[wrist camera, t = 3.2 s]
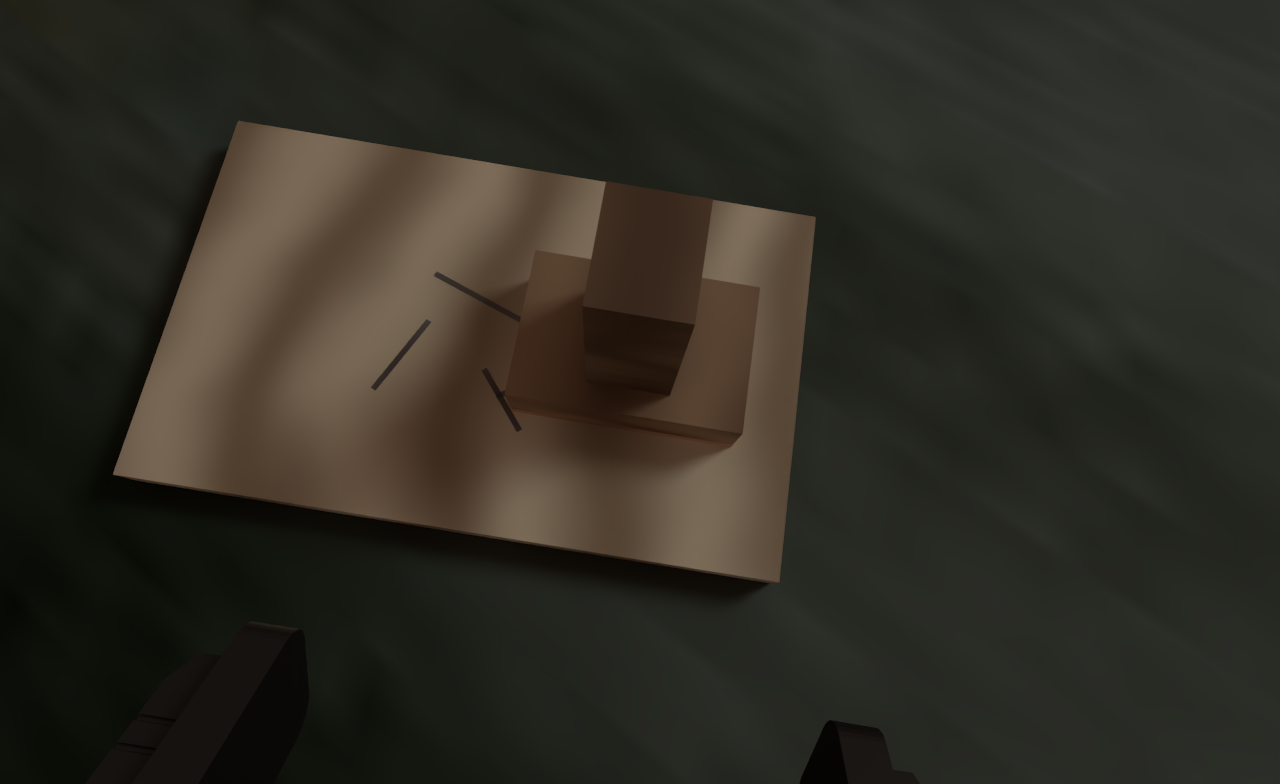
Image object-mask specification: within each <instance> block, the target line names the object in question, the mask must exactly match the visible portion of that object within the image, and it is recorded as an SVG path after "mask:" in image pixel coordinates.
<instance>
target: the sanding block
mask: <svg viewBox="0 0 1280 784" xmlns="http://www.w3.org/2000/svg"><path fill="white" fill-rule="evenodd" d="M712 204H713V199H709V198H703V197H697V196H691V195H685V194H679V193H673V192H667V191H661V190H655V189H649V188H643V187H637V186H631V185H625V184H619V183H613V182H607V181H606V184H605V189H604V194H603V200H602V205H601V210H600V215H599V221H598V226H597V231H596V236H595V242H594V247H593V252H592V257H591V259H587V258H581V257H575V256H569V255H563V254H557V253H551V252H545V251H539V250H535V254H534V259H533V263H532V268H531V273H530V277H529V282H528V287H527V292H526V296H525V301H524V306H523V310H522V315H521V320H520V324H519V329H518V334H517V338H516V343H515V348H514V352H513V357H512V362H511V366H510V371H509V376H508V380H507V385H506V390H505V394H504V395H505V397H506V399H507V401H508V404H509V406H510V408H511V410H512V411H515V412H521V413H527V414H533V415H539V416H545V417H551V418H557V419H564V420H570V421H576V422H582V423H588V424H594V425H600V426H606V427H612V428H618V429H624V430H631V431H637V432H643V433H649V434H655V435H661V436H667V437H673V438H679V439H685V440H691V441H698V442H704V443H710V444H716V445H722V446H728V447H732V445H733V444H734V443H735V442H736V441H737V440H738V439H739V437H740V436H741V435H742V434H743V427H744V419H745V411H746V402H747V394H748V385H749V377H750V369H751V360H752V352H753V344H754V335H755V327H756V319H757V310H758V302H759V293H760V287H755V286H749V285H743V284H737V283H731V282H725V281H719V280H713V279H707V278H702V273H703V267H704V260H705V253H706V246H707V239H708V232H709V225H710V218H711V211H712Z"/></svg>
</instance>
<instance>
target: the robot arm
mask: <svg viewBox="0 0 1280 784" xmlns="http://www.w3.org/2000/svg"><path fill="white" fill-rule="evenodd" d="M308 702H309V687H308V674H307V661H306V648H305V637H304V633H303V631H302V630H301V629H296V628H290V627H284V626H278V625H272V624H266V623H260V622H254V621H250V622H248V623H247V624H245V625H244V626H243V627H242V628H241V629H240V630H239V632H238V633H237V634H236V636H235V637H234V639H233V640H232V642H231V643H230V644H229V646H228V647H227V649H226V650H225V652H224V653H223V654H222V656H219V655H213V654H207V653H200V654H198V655H197V656H195V657H194V658H193V659H191V660H190V661H189V662H187V663H186V664H185V665H183V666H182V667H181V668H179V669H178V670H176V671H175V672H174V673H172V674H171V675H170V676H168V677H167V678H166V679H164V681H163V682H162V683H161V685H160V686H159V687H158V689H157V690H156V691H155V692H154V694H153V695H152V696H151V698H150V699H149V700H148V702H147V703H146V704H145V706H144V707H143V708H142V710H141V711H140V712H139V715H138V718H137V720H136V721H135V720H133V721H132V723H131V724H130V725H129V727H128V728H127V729H126V731H125V732H124V733H123V735H122V736H121V737H120V739H119V740H118V741H117V745H116V747H115V749H111V750H110V752H109V753H108V754H107V756H106V757H105V758H104V760H103V761H102V762H101V764H100V765H99V766H98V768H97V769H96V770H95V772H94V773H93V774H92V776H91V777H90V778H89V779H88V781H87V782H86V783H85V784H274V782H275V780H276V778H277V776H278V774H279V772H280V770H281V768H282V766H283V765H284V763H285V761H286V759H287V757H288V755H289V753H290V751H291V749H292V747H293V745H294V744H295V742H296V740H297V738H298V735H299V733H300V731H301V728H302V726H303V723H304V719H305V716H306V712H307V708H308ZM800 784H919V782H918V781H917V779H916V777H915V776H914V774H913V773H909V772H903V771H896V770H893V769H892V765H891V761H890V757H889V753H888V749H887V745H886V742H885V738H884V736H883V734H882V732H881V731H880V730H879V729H877V728H873V727H868V726H862V725H856V724H850V723H844V722H838V721H832V720H830V721H828V722H827V723H826V724H825V726H824V728H823V730H822V732H821V735H820V737H819V739H818V741H817V743H816V746H815V748H814V750H813V752H812V755H811V757H810V759H809V761H808V764H807V766H806V768H805V770H804V773H803V775H802V777H801V780H800Z"/></svg>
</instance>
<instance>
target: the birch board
mask: <svg viewBox="0 0 1280 784" xmlns="http://www.w3.org/2000/svg"><path fill="white" fill-rule="evenodd" d="M605 184H606V182H602V181H596V180H590V179H584V178H578V177H572V176H566V175H560V174H554V173H548V172H542V171H536V170H530V169H524V168H518V167H512V166H506V165H500V164H494V163H488V162H482V161H476V160H470V159H464V158H458V157H452V156H446V155H440V154H434V153H428V152H422V151H416V150H410V149H404V148H398V147H392V146H386V145H380V144H374V143H368V142H362V141H356V140H350V139H344V138H338V137H332V136H326V135H320V134H314V133H308V132H302V131H296V130H290V129H284V128H278V127H272V126H266V125H260V124H254V123H248V122H242V121H238V123H237V126H236V129H235V132H234V134H233V137H232V140H231V143H230V146H229V148H228V151H227V154H226V157H225V160H224V163H223V165H222V168H221V171H220V174H219V177H218V179H217V182H216V185H215V188H214V191H213V194H212V196H211V199H210V202H209V205H208V208H207V210H206V213H205V216H204V219H203V222H202V224H201V227H200V230H199V233H198V236H197V239H196V241H195V244H194V247H193V250H192V253H191V255H190V258H189V261H188V264H187V267H186V270H185V272H184V275H183V278H182V281H181V284H180V286H179V289H178V292H177V295H176V298H175V301H174V303H173V306H172V309H171V312H170V315H169V317H168V320H167V323H166V326H165V329H164V332H163V334H162V337H161V340H160V343H159V346H158V348H157V351H156V354H155V357H154V360H153V363H152V365H151V368H150V371H149V374H148V377H147V379H146V382H145V385H144V388H143V391H142V394H141V396H140V399H139V402H138V405H137V408H136V410H135V413H134V416H133V419H132V422H131V425H130V427H129V430H128V433H127V436H126V439H125V441H124V444H123V447H122V450H121V453H120V456H119V458H118V461H117V464H116V467H115V470H114V472H113V475H117V476H121V477H125V478H128V479H132V480H136V481H142V482H148V483H155V484H161V485H167V486H173V487H179V488H186V489H192V490H198V491H204V492H210V493H216V494H223V495H229V496H235V497H241V498H247V499H253V500H260V501H266V502H272V503H278V504H284V505H290V506H297V507H303V508H309V509H315V510H321V511H327V512H334V513H340V514H346V515H352V516H358V517H364V518H371V519H377V520H383V521H389V522H395V523H401V524H408V525H414V526H420V527H426V528H432V529H439V530H445V531H451V532H457V533H463V534H469V535H476V536H482V537H488V538H494V539H500V540H506V541H513V542H519V543H525V544H531V545H537V546H543V547H550V548H556V549H562V550H568V551H574V552H580V553H587V554H593V555H599V556H605V557H611V558H617V559H624V560H630V561H636V562H642V563H648V564H655V565H661V566H667V567H673V568H679V569H685V570H692V571H698V572H704V573H710V574H716V575H722V576H729V577H735V578H741V579H747V580H753V581H759V582H766V583H779V580H780V569H781V559H782V549H783V539H784V529H785V519H786V509H787V499H788V489H789V479H790V469H791V459H792V449H793V439H794V429H795V419H796V409H797V399H798V389H799V379H800V369H801V359H802V349H803V339H804V329H805V319H806V309H807V299H808V289H809V279H810V269H811V259H812V249H813V239H814V229H815V219H816V217H812V216H806V215H800V214H794V213H788V212H782V211H776V210H770V209H764V208H758V207H752V206H746V205H740V204H734V203H728V202H722V201H716V200H713V204H712V211H711V218H710V225H709V232H708V239H707V246H706V253H705V260H704V267H703V273H702V278H707V279H713V280H719V281H725V282H731V283H737V284H743V285H749V286H755V287H760V293H759V302H758V310H757V319H756V327H755V335H754V344H753V352H752V360H751V369H750V377H749V385H748V394H747V402H746V411H745V419H744V427H743V434H742V435H741V436H740V437H739V439H738V440H737V441H736V442H735V443H734V444H733V445H732V447H728V446H722V445H716V444H710V443H704V442H698V441H691V440H685V439H679V438H673V437H667V436H661V435H655V434H649V433H643V432H637V431H631V430H624V429H618V428H612V427H606V426H600V425H594V424H588V423H582V422H576V421H570V420H564V419H557V418H551V417H545V416H539V415H533V414H527V413H521V412H515V411H512V410H511V408H510V406H509V404H508V401H507V399H506V397H505V395H504V394H505V390H506V385H507V380H508V376H509V371H510V366H511V362H512V357H513V352H514V348H515V343H516V338H517V334H518V329H519V324H520V320H521V315H522V310H523V306H524V301H525V296H526V292H527V287H528V282H529V277H530V273H531V268H532V263H533V259H534V254H535V250H539V251H545V252H551V253H557V254H563V255H569V256H575V257H581V258H587V259H591V257H592V252H593V247H594V242H595V236H596V231H597V226H598V221H599V215H600V210H601V205H602V200H603V194H604V189H605Z"/></svg>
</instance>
